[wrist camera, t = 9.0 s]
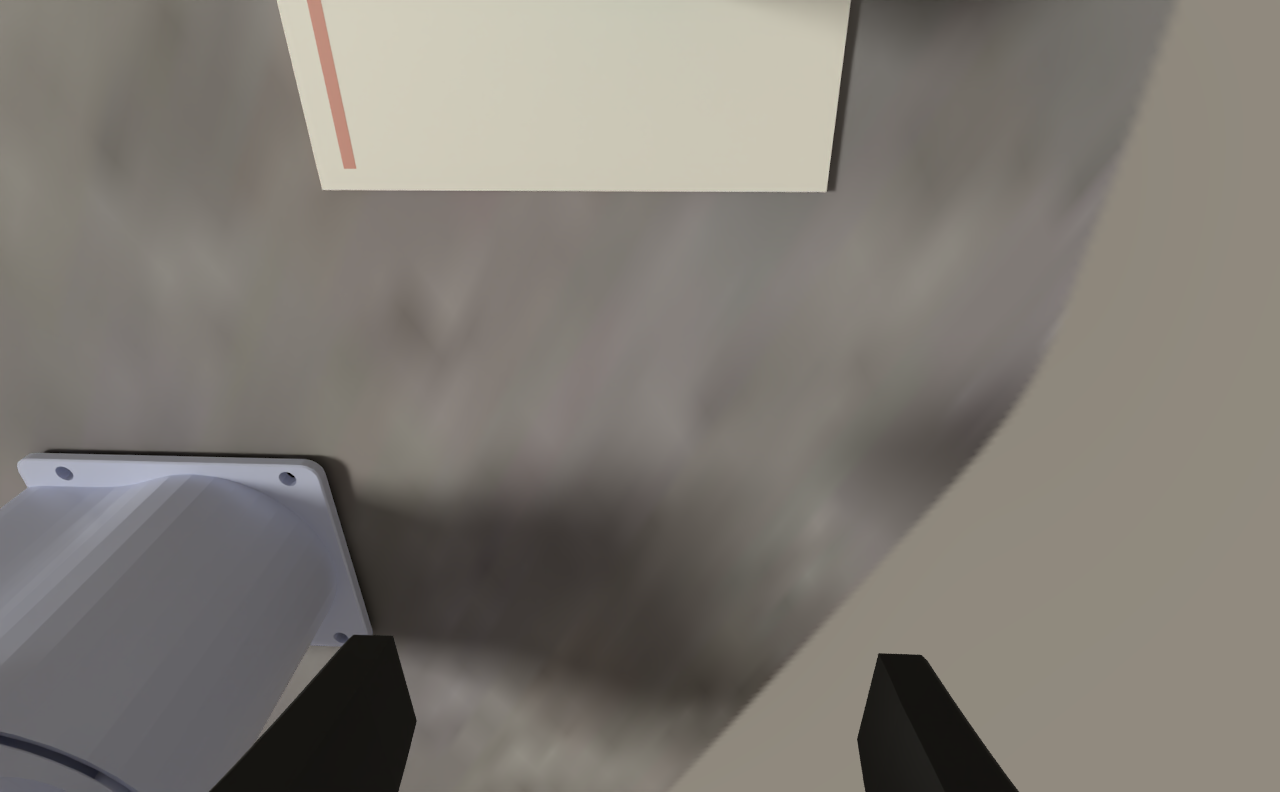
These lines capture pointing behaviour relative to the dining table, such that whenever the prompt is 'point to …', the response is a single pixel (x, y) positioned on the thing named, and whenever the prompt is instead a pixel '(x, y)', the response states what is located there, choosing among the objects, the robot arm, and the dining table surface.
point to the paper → (569, 93)
